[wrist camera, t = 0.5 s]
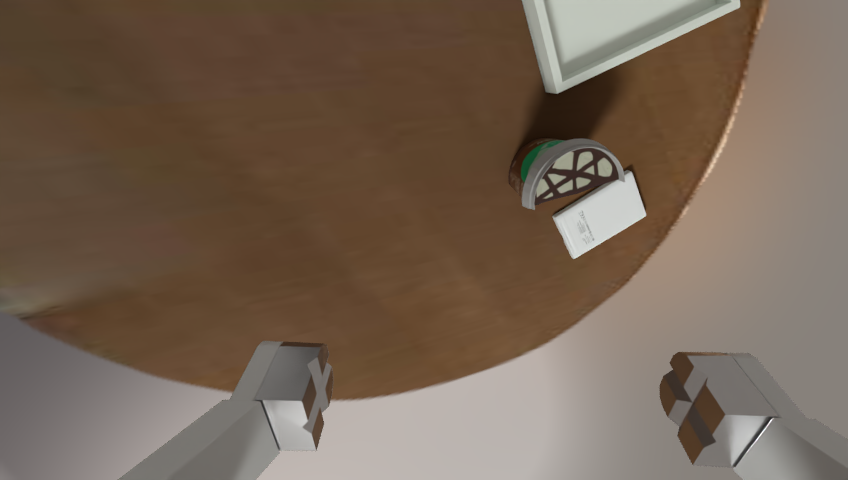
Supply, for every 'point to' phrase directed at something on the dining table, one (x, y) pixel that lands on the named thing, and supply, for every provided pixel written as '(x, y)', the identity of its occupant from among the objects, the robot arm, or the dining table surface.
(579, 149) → the food container
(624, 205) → the external hard drive
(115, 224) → the dining table surface
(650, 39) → the tray
